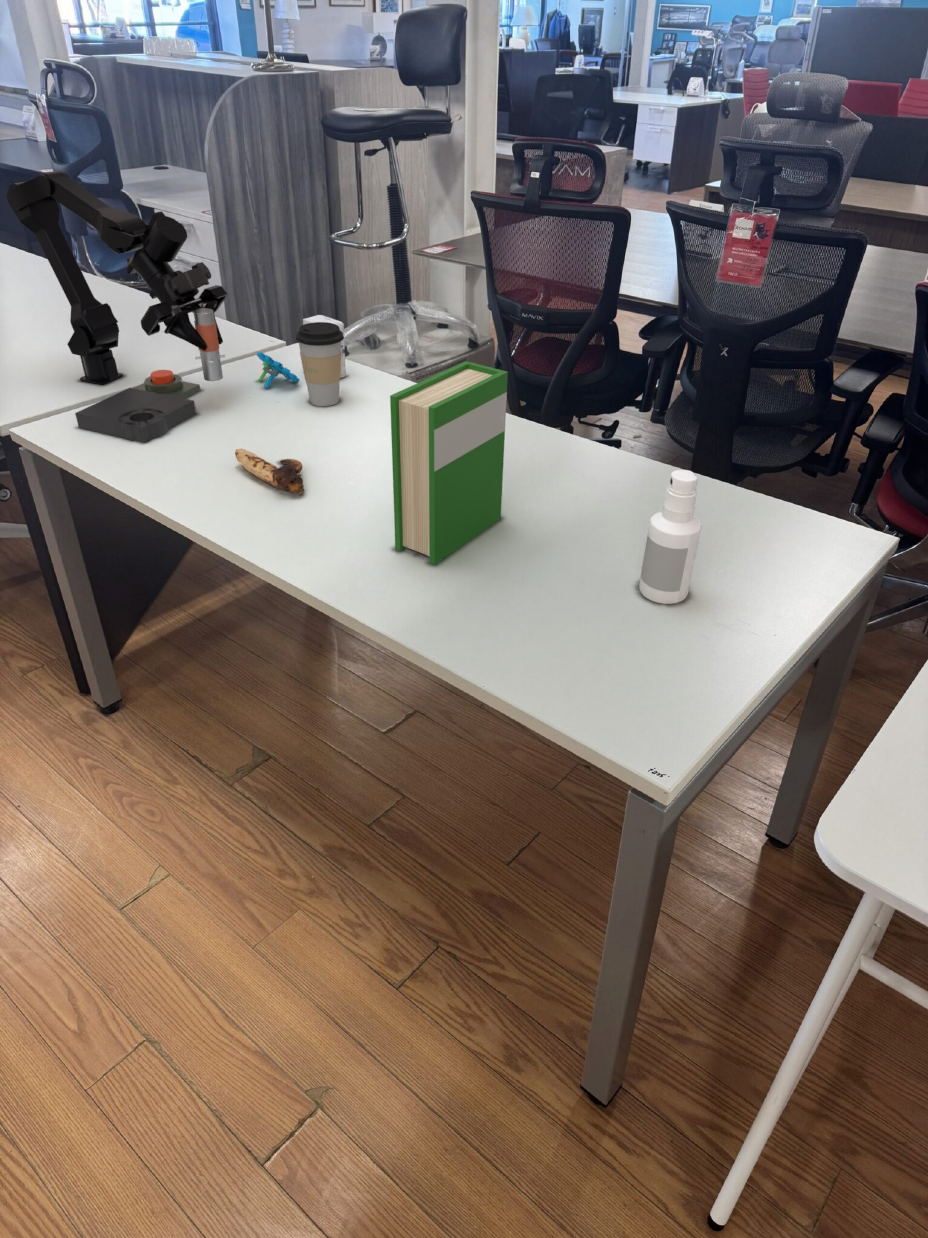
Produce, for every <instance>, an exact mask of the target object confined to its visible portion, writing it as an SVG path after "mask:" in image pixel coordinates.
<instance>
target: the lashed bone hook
mask: <svg viewBox="0 0 928 1238" xmlns="http://www.w3.org/2000/svg"><path fill="white" fill-rule="evenodd" d="M234 455H235V459H236V461H237V462H238V463H239V464H240V465H242V466H243V468H245V470H246V471H248V472H249V473H252V475H254V476H256V477H257V478H258V479H260V480H261V481H263V482H265V483H267V484H269V485H271V486H273V487H275V488H277V489H279V490H282V491H284V492H287V493H291V494H295V495H300V494H302V493H304V492H305V489H304V486H305V485H304V479H303V477H302V475H301V474H299V473H301V471H302V469H303V463H302V462H301V461H300V460H298V459H294V458H284V459H281V460H280V461H279V462H280V463H281V464H283V465H281V466H279V467H277V466H276V465H275V464H273V463H271V462H268V461H267V460H265V459H264V458H262V457H260V456H258V455H257V454H255V453H254V452H251V451H249V450H247V449H244V448H237V449H235V451H234Z"/></svg>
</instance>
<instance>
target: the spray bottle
mask: <svg viewBox="0 0 928 1238" xmlns="http://www.w3.org/2000/svg"><path fill="white" fill-rule="evenodd" d="M698 481H699V478H698V477H697V476H696V475H695V474H694V472H693V471H692V470H688V469H676V470H673V471H672V472H671V474H670V478H669V483H668V485H667V488H666V490H665V491H666V492H665V496H664V502H663V505H662V510H660V511H658V512H656V513H654V514H653V515H652V516H651V518H650V519H649V524H648V528H647V536H646V541H645V549H644V554H643V560H642V566H641V571H640V577H639V584H638V587H639V592H640V594H642V596H643V597H644V598H646V599H648V600H650V601H652V602H654V603H658V604H665V605H671V604H677V603H681V602H683V601H684V600H685V599H686V598H687V597H688V594H689V590H690V586H691V581H692V575H693V571H694V566H695V561H696V558H697V551H698V549H699V548H698V547H699V543H700V537H701V532H702V528H703V527H702V524H701V521H700V520H699V518H697V517H696V516H695V515H694V513H695V504H696V499H697V495H698V491H697V485H698Z"/></svg>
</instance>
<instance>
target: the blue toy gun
mask: <svg viewBox="0 0 928 1238" xmlns="http://www.w3.org/2000/svg"><path fill="white" fill-rule="evenodd" d="M256 357H257V358H258V359H259V360H260V361H262V364H261V365H262V366H263V367H262V373H261V375H260V376H259V378H258V381H259V382H262V381H263V380H264V378H265V376H266V375H267V374H268V375H269V377H268V379H267V380H266V381H265V382H264V384H263V386H264V387H265V388H266V389H269V388H270V386H271V384H272V383H273V382H274V379H276V378H278V376H279V375H282V376H284V378H286V379H287V380H291V382H293V383H296V384H298V383H299V382H300V378H298V376H297V375H296V374H295V373H291V369H288V368H287V367H284V366H283V363H281V362H279V361H278V360H274V359H273V357H271V356H269V355H268V354H265V353H264V352H262V351H257V353H256Z"/></svg>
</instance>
